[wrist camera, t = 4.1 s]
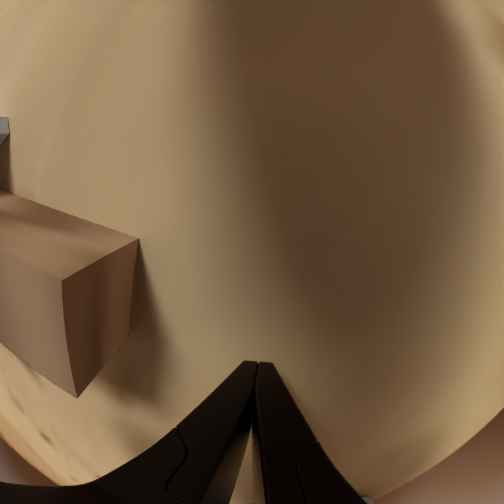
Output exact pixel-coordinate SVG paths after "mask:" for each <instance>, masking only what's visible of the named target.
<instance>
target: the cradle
mask: <svg viewBox="0 0 504 504" xmlns="http://www.w3.org/2000/svg"><path fill="white" fill-rule="evenodd" d="M8 135H9V127H8V118H7V117H0V145H1V144H2V143H3V141H4V140H5V139H6V137H7V136H8Z"/></svg>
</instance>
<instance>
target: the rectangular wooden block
mask: <svg viewBox="0 0 504 504" xmlns="http://www.w3.org/2000/svg"><path fill="white" fill-rule="evenodd" d="M138 241H139V238H137V237H134V236H131V235H128V234H125V233H122V232H119V231H116V230H113V229H110V228H107V227H104V226H101V225H98V224H95V223H92V222H90V221H87V220H84V219H81V218H78V217H75V216H72V215H69V214H67V213H64V212H61V211H58V210H55V209H52V208H50V207H47V206H44V205H41V204H39V203H36V202H33V201H30V200H28V199H25V198H22V197H19V196H17V195H14V194H11V193H9V192H6V191H3V190H1V189H0V342H1V343H2V344H3V345H4V346H5V347H7V348H8V349H9V350H10V351H11V352H12V353H14V354H15V355H16V356H17V357H18V358H20V359H21V360H22V361H23V362H25V363H26V364H27V365H29V366H30V367H31V368H33V369H34V370H35V371H37V372H38V373H39V374H41V375H42V376H44V377H45V378H46V379H48V380H49V381H51V382H52V383H54V384H55V385H57V386H58V387H60V388H61V389H63V390H64V391H66V392H68V393H69V394H71V395H72V396H74V397H76V398H78V397H79V396H80V395H81V393H82V392H83V391H84V390H85V388H86V387H87V386H88V385H89V383H90V382H91V381H92V380H93V379H94V377H95V376H96V375H97V374H98V372H99V371H100V370H101V369H102V368H103V366H104V365H105V364H106V363H107V362H108V360H109V359H110V358H111V357H112V356H113V354H114V353H115V352H116V351H117V350H118V349H119V347H120V346H121V345H122V344H123V343H124V342H125V340H126V339H127V338H128V337H129V332H130V315H131V301H132V290H133V280H134V271H135V263H136V255H137V248H138Z"/></svg>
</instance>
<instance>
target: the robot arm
mask: <svg viewBox="0 0 504 504" xmlns="http://www.w3.org/2000/svg"><path fill="white" fill-rule="evenodd" d="M251 427H252V468H253V503H254V504H368V503H367V502H366V501H365V500H364V499H363V498H362V497H361V496H360V495H359V494H358V493H357V492H356V491H355V489H354V488H353V487H352V486H351V485H350V484H349V483H348V482H347V481H346V479H345V478H344V477H343V476H342V475H341V473H340V472H339V471H338V470H337V468H336V467H335V466H334V464H333V463H332V462H331V460H330V459H329V457H328V456H327V454H326V453H325V451H324V450H323V448H322V446H321V445H320V443H319V442H317V438H316V437H315V435H314V433H313V432H312V430H311V428H310V427H309V425H308V423H307V422H306V420H305V418H304V417H303V415H302V413H301V411H300V410H299V408H298V406H297V405H296V403H295V401H294V399H293V398H292V396H291V394H290V393H289V391H288V389H287V387H286V386H285V384H284V382H283V380H282V379H281V377H280V375H279V373H278V371H277V370H276V368H275V366H274V364H273V363H271V362H259V363H257V362H256V361H247V360H245V361H243V362H242V363H241V364H240V365H239V366H238V367H237V368H236V369H235V370H234V371H233V372H232V373H231V374H230V375H229V376H228V377H227V378H226V379H225V380H224V381H223V382H222V383H221V384H220V385H219V386H218V387H217V388H216V389H215V390H214V391H213V392H212V393H211V394H210V395H209V396H208V397H207V398H206V399H205V400H204V401H203V402H202V403H201V404H199V405H198V406H197V407H196V408H195V409H194V410H193V411H192V412H191V413H190V414H189V415H188V416H187V417H186V418H184V419H183V420H182V421H181V422H180V423H179V424H178V425H177V426H176V428H173V429H172V430H171V431H170V432H169V433H168V434H167V435H165V436H164V437H163V438H162V439H160V440H159V441H158V442H157V443H156V444H154V445H153V446H152V447H150V448H149V449H147V450H146V451H144V452H143V453H141V454H140V455H138V456H137V457H135V458H134V459H132V460H130V461H129V462H127V463H125V464H124V465H122V466H120V467H118V468H117V469H115V470H113V471H111V472H110V473H108V474H106V475H104V476H102V477H101V478H99V479H96V480H94V481H91V482H89V483H85V484H81V485H73V486H39V485H22V484H13V483H6V482H1V481H0V504H229V502H230V499H231V496H232V493H233V490H234V487H235V483H236V480H237V477H238V474H239V470H240V467H241V464H242V460H243V457H244V454H245V450H246V447H247V443H248V440H249V436H250V432H251Z"/></svg>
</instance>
